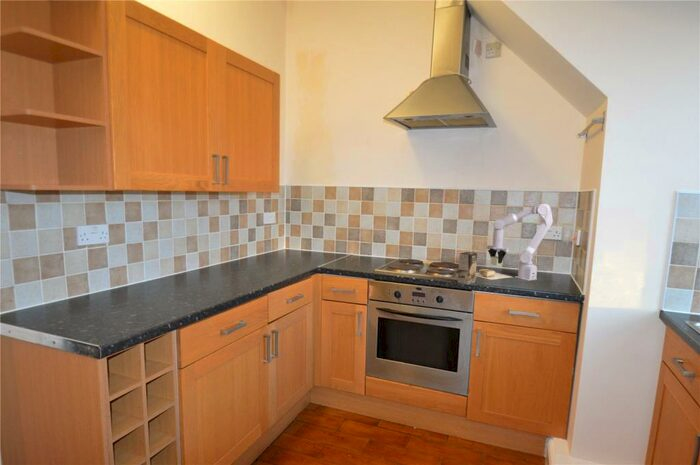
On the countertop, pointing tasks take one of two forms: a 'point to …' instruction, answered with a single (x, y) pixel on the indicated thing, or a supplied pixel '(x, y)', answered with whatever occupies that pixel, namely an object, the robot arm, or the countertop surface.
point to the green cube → (495, 261)
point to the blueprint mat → (495, 276)
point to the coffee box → (467, 267)
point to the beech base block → (486, 273)
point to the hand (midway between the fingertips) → (496, 262)
